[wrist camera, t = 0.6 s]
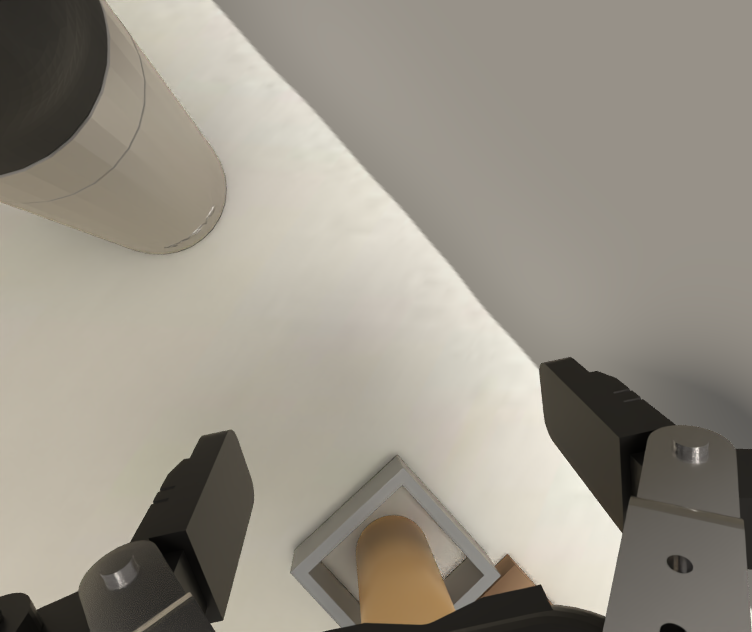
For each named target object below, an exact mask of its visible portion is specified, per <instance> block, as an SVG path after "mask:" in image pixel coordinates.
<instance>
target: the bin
mask: <svg viewBox="0 0 752 632" xmlns="http://www.w3.org/2000/svg"><path fill="white" fill-rule="evenodd" d="M402 485H403V486H404V487H405V488H406V489H407V491H408V492H409V493H410V494H411V495H412V496H413V497H414V498H415V499H416V500H417V502H418V503H419V504H420V505H421V506H422V507H423V508H424V509H425V510H426V512H427V513H428V514H429V515H430V516H431V517H432V518H433V519H434V520H435V521H436V523H437V524H438V525H439V526H440V527H441V528H442V529H443V530H444V531H445V533H446V534H447V535H448V536H449V537H450V538H451V539H452V540H453V541H454V542H455V544H456V545H457V546H458V547H459V548H460V549H461V550H462V551H463V552H464V554H465V555H466V556H467V558H466V559H465V560H464V561H463V562H462V563H461V564H460V565H459V566H458V567H457V568H456V569H455V570H454V571H453V572H452V573H451V574H450V575H449V576H448V577H447V578H446V579H444V580H443V581H444V583H445V586H446V588H447V591H448V593H449V596H450V598H451V600H452V603H453V605H454V608H455V610H458V609H460V608H462V607H464V606H466V605H468V604H470V603H472V602H474V601H475V600H476V599H477V598H478V597H480V596H481V595H482V594H483V593H484V592H485V591H486V590H487V589H488V588H489V587H490V586H491V585H492V584H493V583H494V582H495V581H496V580H497V579H498V578H499V577H500V576H501V575H500V573H499V572H498V570H497V569H496V567H495V566H494V564H493V563H492V561H491V559H490V558H489V556H488V555H487V553H486V552H485V551H484V550H483V549H482V548H481V547H480V546H479V545H478V543H477V542H476V541H475V540H474V539H473V538H472V537H471V536H470V535H469V533H468V532H467V531H466V530H465V529H464V528H463V527H462V526H461V525H460V523H459V522H458V521H457V520H456V519H455V518H454V517H453V516H452V515H451V514H450V512H449V511H448V510H447V509H446V508H445V507H444V506H443V505H442V504H441V502H440V501H439V500H438V499H437V498H436V497H435V496H434V495H433V494H432V492H431V491H430V490H429V489H428V488H427V487H426V486H425V485H424V484H423V482H422V481H421V480H420V479H419V478H418V477H417V476H416V475H415V474H414V473H413V471H412V470H411V469H410V468H409V467H408V466H407V465H406V464H405V463H404V461H403V460H402V459H401V458H400V457H399V456H398V455H397V456H396V457H395V458H394V459H393V460H391V461H390V462H389V463H388V464H387V465H386V466H385V467H384V468H383V469H382V470H381V471H380V472H378V473H377V474H376V475H375V476H374V477H373V478H372V479H371V480H370V481H369V482H368V483H367V484H366V485H364V486H363V487H362V488H361V489H360V490H359V491H358V492H357V493H356V494H355V495H354V496H353V497H352V498H350V499H349V500H348V501H347V502H346V503H345V504H344V505H343V506H342V507H341V508H340V509H339V510H337V511H336V512H335V513H334V514H333V515H332V516H331V517H330V518H329V519H328V520H327V521H326V522H325V523H323V524H322V525H321V526H320V527H319V528H318V529H317V530H316V531H315V532H314V533H313V534H312V535H310V536H309V537H308V538H307V539H306V540H305V541H304V542H303V543H302V544H301V545H300V546H299V547H298V548H296V549H295V550H294V555H293V561H292V566H291V571H290V573H291V574H292V575H293V576H294V577H295V578H296V580H297V581H298V582H299V583H300V584H301V585H302V586H303V587H304V588H305V589H306V590H307V591H308V592H309V594H310V595H311V596H312V597H313V598H314V599H315V600H316V601H317V602H318V603H319V604H320V605H321V606H322V607H323V609H324V610H325V611H326V612H327V613H328V614H329V615H330V616H331V617H332V618H333V619H334V620H335V621H336V623H337V624H338V625H339V626H340V627H341V628H343V627H347V626H352V625H356V624H361V613H360V604H359V602H358V601H357V600H356V599H355V598H354V597H353V596H352V595H351V594H350V593H349V592H348V591H347V589H346V588H345V587H344V586H343V585H342V584H341V583H340V582H339V581H338V580H337V579H336V578H335V577H334V575H333V574H332V573H331V572H330V571H329V570H328V569H327V568H326V567H325V566H324V565H323V564H322V562H321V560H323V559H324V558H325V557H326V556H327V555H328V554H329V553H330V552H331V551H332V550H333V549H334V548H335V547H336V546H338V545H339V544H340V543H341V542H342V541H343V540H344V539H345V538H346V537H347V536H348V535H349V534H350V533H351V532H353V531H354V530H355V529H356V528H357V527H358V526H359V525H360V524H361V523H362V522H363V521H364V520H365V519H366V518H368V517H369V516H370V515H371V514H372V513H373V512H374V511H375V510H376V509H377V508H378V507H379V506H380V505H381V504H383V503H384V502H385V501H386V500H387V499H388V498H389V497H390V496H391V495H392V494H393V493H394V492H395V491H396V490H398V489H399V488H400V487H401V486H402Z"/></svg>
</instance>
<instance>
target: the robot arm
mask: <svg viewBox="0 0 752 632" xmlns="http://www.w3.org/2000/svg"><path fill="white" fill-rule="evenodd" d="M225 197H226V181H225V174H224V171H223V168H222V165H221V162H220V160H219V159H218V157H217V155H216V154H215V152H214V150H213V149H212V147H211V146H210V145H209V143H208V142H207V141H206V139H205V138H204V136H203V135H202V134H201V132H200V131H199V129H198V128H197V126H196V125H195V123H194V122H193V121H192V119H191V118H190V116H189V115H188V114H187V112H186V111H185V110H184V108H183V107H182V105H181V104H180V103H179V101H178V100H177V98H176V97H175V96H174V94H173V93H172V92H171V90H170V89H169V87H168V86H167V85H166V83H165V82H164V81H163V79H162V78H161V76H160V75H159V74H158V72H157V71H156V69H155V68H154V67H153V65H152V64H151V63H150V61H149V60H148V58H147V57H146V56H145V54H144V53H143V52H142V50H141V49H140V47H139V46H138V45H137V43H136V42H135V40H134V39H133V38H132V36H131V35H130V34H129V32H128V31H127V29H126V28H125V27H124V25H123V24H122V22H121V21H120V20H119V18H118V17H117V16H116V15H115V13H114V12H113V11H112V9H111V8H110V6H109V5H108V4H107V2H106V1H105V0H0V202H2V203H5V204H8V205H10V206H13V207H16V208H19V209H21V210H24V211H27V212H30V213H33V214H35V215H38V216H41V217H44V218H47V219H49V220H52V221H55V222H58V223H60V224H63V225H66V226H69V227H72V228H74V229H77V230H80V231H83V232H85V233H88V234H91V235H94V236H97V237H99V238H102V239H105V240H107V241H110V242H113V243H116V244H118V245H121V246H124V247H127V248H130V249H132V250H135V251H139V252H144V253H148V254H168V253H174V252H179V251H181V250H184V249H186V248H189V247H191V246H193V245H194V244H196V243H197V242H199V241H200V240H202V239H203V238H204V237H205V236H206V235H207V234H208V233H209V232H210V231H211V230H212V229H213V227H214V226H215V224H216V223H217V221H218V219H219V218H220V216H221V213H222V210H223V207H224V204H225ZM539 374H540V384H541V393H542V403H543V412H544V420H545V424H546V427H547V430H548V433H549V435H550V437H551V439H552V441H553V442H554V443H555V445H556V446H557V447H558V449H559V450H560V451H561V453H562V454H563V455H564V457H565V458H566V459H567V461H568V462H569V463H570V465H571V466H572V467H573V469H574V470H575V471H576V473H577V474H578V475H579V476H580V478H581V479H582V480H583V482H584V483H585V484H586V486H587V487H588V488H589V490H590V491H591V492H592V494H593V495H594V496H595V498H596V499H597V500H598V502H599V503H600V504H601V506H602V507H603V508H604V510H605V511H606V512H607V514H608V515H609V516H610V518H611V519H612V520H613V521H614V523H615V524H616V525H617V527H618V528H619V529H620V531H621V532H622V533H623V534H622V539H621V544H620V549H619V554H618V559H617V564H616V568H615V573H614V578H613V583H612V588H611V593H610V598H609V603H608V608H607V613H606V617H605V616H602V615H600V614H597V613H594V612H591V611H587V610H584V609H580V608H576V607H569V606H562V605H550V603H549V601H548V599H547V597H546V594H545V592H544V590H543V588H542V586H541V585H536V586H532V587H527V588H523V589H518V590H513V591H509V592H504V593H500V594H495V595H490V596H486V597H482V598H480V599H478V600H476V601H474V602H472V603H470V604H468V605H466V606H464V607H462V608H460V609H458V610H456V611H454V612H452V613H450V614H448V615H446V616H444V617H442V618H440V619H438V620H436V621H434V622H431V623H429V624H423V625H415V624H387V623H361V624H356V625H352V626H347V627H343V628H338V629H333V630H329V631H324V632H751V617H750V602H749V587H748V573H747V569H752V449H735V447H734V446H733V444H731V442H730V441H729V440H728V439H726V438H725V437H723V436H722V435H720V434H718V433H716V432H714V431H711V430H708V429H704V428H701V427H695V426H687V425H675V424H674V423H673V422H671V421H670V420H669V419H667V418H666V417H665V416H664V415H662V414H661V413H660V412H659V411H657V410H656V409H655V408H653V407H652V406H651V405H649V404H648V403H647V402H646V401H645V400H643V399H642V400H641V398H640V396H638V395H637V394H636V393H634V392H633V391H630V390H629V388H628V387H627V386H626V385H624V384H623V383H622V382H620V381H619V380H618V379H617V378H614V377H612V376H609V375H606V374H604V373H601V372H598V371H595V372H588V371H587V370H586V369H585V368H584V367H583V366H581V365H580V364H579V363H578V362H577V361H575V360H574V359H573V358H571V357H568V358H563V359H558V360H554V361H549V362H545V363H541V365H540V368H539ZM253 503H254V489H253V483H252V479H251V476H250V473H249V470H248V468H247V465H246V462H245V459H244V456H243V453H242V450H241V447H240V444H239V441H238V438H237V436H236V434H235V432H234V431H233V430H227V431H222V432H217V433H213V434H208V435H204V436H202V437H201V438H200V439H199V441H198V443H197V445H196V447H195V449H194V451H193V453H192V455H191V457H190V458H188V459H184V460H183V461H181V462H180V463H179V464H178V465H177V466H176V467H175V468H174V469H173V470H172V471H171V472H170V473H169V474H168V476H167V477H166V479H165V481H164V483H163V484H162V486H161V488H160V492H158V493H157V495H156V497H155V499H154V501H153V504H152V505H151V506H150V508H149V509H148V511H147V513H146V515H145V517H144V518H143V520H142V522H141V524H140V526H139V527H138V529H137V531H136V533H135V534H134V536H133V538H132V540H131V542H130V543H128V544H125V545H123V546H120V547H118V548H116V549H114V550H113V551H111V552H109V553H108V554H106V555H105V556H104V557H102V558H101V559H100V560H98V561H97V562H96V563H95V564H94V565H93V566H92V567H91V568H90V569H89V570H88V572H87V573H86V574H85V576H84V577H83V579H82V581H81V583H80V586H79V591H78V592H75V593H73V594H71V595H69V596H67V597H64V598H62V599H60V600H58V601H55V602H53V603H51V604H49V605H46V606H44V607H42V608H40V609H37V610H36V608H35V606H34V605H33V603H32V601H31V599H30V598H29V596H28V595H26V594H24V593H12V594H8V595H5V596H1V597H0V632H215V630H214V629H213V627H212V626H211V624H210V623H214V622H218V621H223V619H224V615H225V611H226V608H227V604H228V600H229V596H230V592H231V588H232V585H233V581H234V577H235V573H236V569H237V565H238V562H239V558H240V554H241V550H242V546H243V542H244V539H245V535H246V531H247V527H248V523H249V519H250V516H251V512H252V508H253Z"/></svg>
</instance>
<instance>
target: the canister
mask: <svg viewBox="0 0 752 632" xmlns="http://www.w3.org/2000/svg"><path fill="white" fill-rule="evenodd" d="M356 563H357V576H358V588H359V600H360V613H361V623H387V624H415V625H423V624H429V623H431V622H434V621H436V620H438V619H440V618H442V617H444V616H446V615H448V614H450V613H452V612H454V611H456V610H455V608H454V605H453V603H452V600H451V598H450V596H449V593H448V591H447V588H446V586H445V583H444V581H443V579H442V576H441V574H440V571H439V569H438V566H437V564H436V562H435V559H434V557H433V554H432V552H431V549H430V547H429V545H428V542H427V540H426V537H425V535H424V533H423V531H422V530H421V529H420V527H419V526H418V525H417V524H416V523H414V522H413V521H411V520H410V519H408V518H405V517H402V516H395V515H392V516H385V517H381V518H379V519H377V520H375V521H373V522H372V523H370V524H369V525H368V526H367V527H366V528H365V529H364V531H363V532H362V534H361V535H360V537H359V540H358V542H357V546H356Z"/></svg>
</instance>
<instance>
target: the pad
mask: <svg viewBox="0 0 752 632" xmlns="http://www.w3.org/2000/svg"><path fill="white" fill-rule="evenodd" d="M495 567H496V569H497V570H498V572H499V573H500V575H501V576H500V577H499V578H498V579H497V580H496V581H495V582H494V583H493V584H492V585H491V586H490V587H489V588H488V589H487V590H486V591H485V592H484V593H483V594H482V595H481V596H480V597H478V598H477V599H476V600H478V599H480V598H482V597H486V596H490V595H495V594H500V593H504V592H509V591H513V590H518V589H523V588H527V587H532V586H536V585H535V584H534V583H533V582H532V581H531V580H530V578H529V577H528V576H527V575H526V574H525V573H524V572H523V571H522V570H521V568H520V567H519V566H518V565H517V564H516V563H515V562H514V561H513V560H512V558H511V557H510V556H509V555H508V554H507V555H506V556H505V557H504V558H503V559H502V560H501V561H500V562H499V563H498V564H497V565H496V566H495ZM547 599H548V598H547ZM476 600H475V601H476ZM548 601H549V600H548ZM549 603H550V605H553V604H552V603H551V602H550V601H549Z"/></svg>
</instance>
